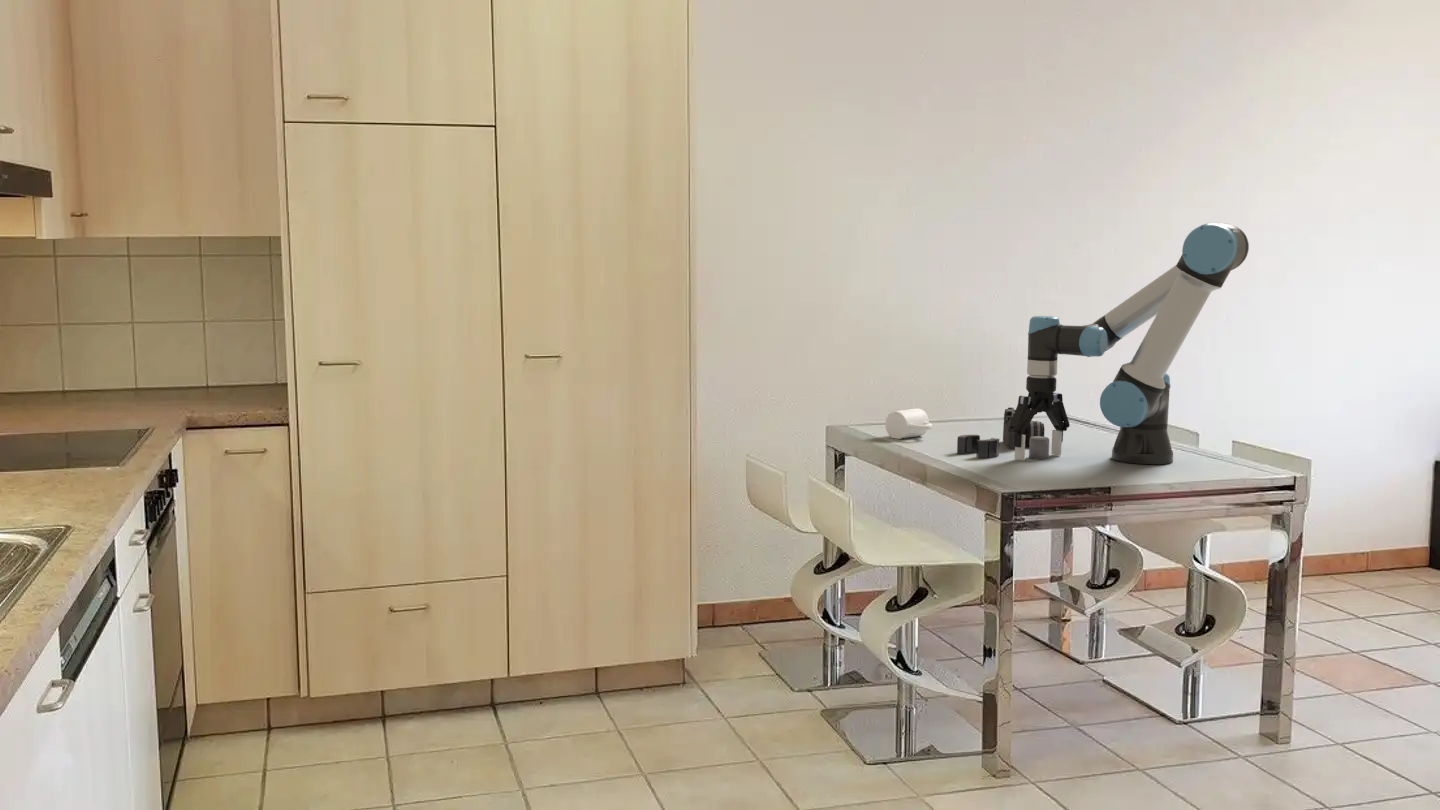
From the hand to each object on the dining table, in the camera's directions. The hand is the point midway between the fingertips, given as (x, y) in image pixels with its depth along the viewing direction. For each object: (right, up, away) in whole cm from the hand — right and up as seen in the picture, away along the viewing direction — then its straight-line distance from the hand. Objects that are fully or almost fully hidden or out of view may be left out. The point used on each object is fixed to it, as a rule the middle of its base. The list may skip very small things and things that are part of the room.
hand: (1038, 457), depth 345 cm
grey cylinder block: (0, 0, 0) cm, 0 cm away
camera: (+1, +2, +20) cm, 20 cm away
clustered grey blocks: (-15, +1, +4) cm, 15 cm away
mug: (-28, +4, +31) cm, 42 cm away
